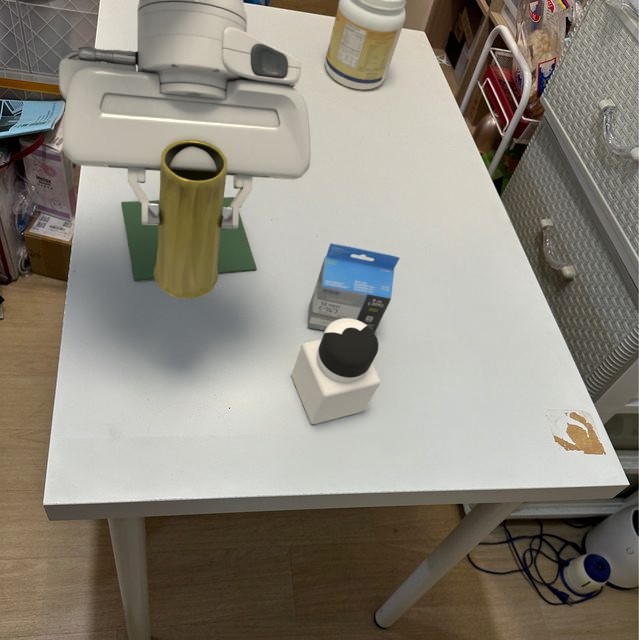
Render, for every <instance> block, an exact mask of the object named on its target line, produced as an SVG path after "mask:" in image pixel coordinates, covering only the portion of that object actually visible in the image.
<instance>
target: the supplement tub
mask: <svg viewBox="0 0 639 640" xmlns="http://www.w3.org/2000/svg"><path fill="white" fill-rule="evenodd" d="M337 5H338V6H337V10H336V14H335V17H334V18H335V19H334V22H333V27H332V31H331V35H330V40H329V44H328V48H327V51H326V54H325V69H326V71H327V72H328V74H329V75H330V77H331V78H332V79H333V80H335V81H336V82H337V83H339V84H341V85H343V86H345V87H347V88H351V89H354V90H355V89H356V90H363V91H364V90H372V89H375V88H378V87H379V86H380V85H382V84H383V83H384V81H385V80H386V77H387V74H388V72H389V69H390V66H391V62H392V59H393V56H394V53H395V50H396V48H397V44H398V42H399V38H400V35H401V33H402V29H403V26H404V24H405V22H406V9H405V8H406V7H405V6H406V5H407V0H338V4H337Z"/></svg>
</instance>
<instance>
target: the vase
mask: <svg viewBox="0 0 639 640" xmlns="http://www.w3.org/2000/svg"><path fill="white" fill-rule="evenodd" d="M187 147H196V148H199V149H202V150H204V151H206V152H207V153H208V154H209V155H210V157H211V158H212V159H213V161H214V163H215V165H216V169H217V171H216V172H204V171H189V170H174V169H170V164H171V162H172V160H173V158H174V157H175V155H176V154H178V153H179V152H180V151H181V150H183V149H185V148H187ZM159 172H160V173H159V194H158V195H159V198H158V200H159V204H160V212H159V217H160V225H158V250H157V261H156V265H155V268H154V278H155V279H154V281H155V282H156V284H157V286H158V287H159V289H161V290H162V292H164V293H166V294H167V295H170V296H172V297H174V298H178V299H182V300H183V299H185V300H187V299H188V300H191V299H197V298H198V299H199V298H202V297H203V296H205V295H207V294H209V293H210V292H211V291H212V290H213V289H214V288H215V286H216V285H217V283H218V280H219V274H218V270H217V263H218V251H219V242H220V231H221V228H220V227H221V217H222V207H223V200H224V197H225V192H226V191H225V189H226V179H227V175H226V174H227V159H226V157H225V155H224V154H223V153H222V151H221V150H220V149H219V148H217V147H216V146H214V145H212V144H210V143H208V142H204V141H200V140H193V139H188V140H181V141H177V142H174V143H172V144H170V145H168V146H167V147H166V148H165V149H164V150H163V152H162V155H161V167H160V171H159Z"/></svg>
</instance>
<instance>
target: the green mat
mask: <svg viewBox="0 0 639 640" xmlns="http://www.w3.org/2000/svg"><path fill="white" fill-rule="evenodd" d="M235 197H236V196H227V197H226V196H224V200H223V207H226V208H229V207H230V205H231V203H232V202H233V200H234V198H235ZM148 201H149V203H150V204H159V199H155V200H148ZM120 204H121V209H122V215H123V221H124V228H125V233H126V240H127V246H128V251H129V256H130V263H131V268H132V274H133V279H134V282H139V281H150V280H155V278H154V268H155V265H156V261H157V250H158V225H142V203H140V202H139V200H130V201H121V203H120ZM158 216H159V214H158ZM250 245H251V244H250V243H249V239H248V236H247V233H246V230H245V226H244V223H243V220H242V217H241V213H240V212H239V222H238V229H235V228H221V231H220V242H219V251H218V263H217V270H218V275H220V274H231V273H243V272H254V271H257V270H258V268H257V265H256V262H255V258H254V255H253V251H252V249H251V246H250Z"/></svg>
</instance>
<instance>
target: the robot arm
mask: <svg viewBox="0 0 639 640" xmlns="http://www.w3.org/2000/svg"><path fill="white" fill-rule="evenodd" d="M17 1H18V2H21V3H25V4H28V5H29V4H30V5H45V4H49V3H52V2H54V1H55V2H56V0H17ZM244 4H245V3H244V0H138V4H137V16H136V17H137V50H136V51H132V50H122V49H101V48H97V47H95V46H84V45H83V46H78V48H77V50H73V51H69V52H68V53H66V54H64V56H63V57H62V58H61V60H60V61H59V64H58V90H59V92H60V95H61V96H62V98H63V100H64V101H65V107H64V115H63V123H62V151H63V154H64V155H65V156H66V157H67V159H68V160H69V161H70V162H71V163H73V164H74V165H76V166H81V167H93V168H94V167H96V168H110V169H125V170H126V169H127V183H128V184H129V186H130V188H131V190H132V191H133V193H134V195H135V197H136V199H137V201H139V202H140V203H142V225H160V217H159V216H158V214H159V212H160V204H150V203H149V201H150V200H149V199H148V198H147V197H148V196H147V195H146V194H145V192H144V190H143V189H142V187H141V185H140V184H145V183H146V178H147V177H146V176H147V175H146V174H147V171H157V172H160V167H161V155H162V152H163V150H164V149H165V148H166V147H167V146H168V145H170V144H172V143H174V142H177V141H181V140H188V139H193V140H200V141H204V142H208V143H210V144H212V145H214V146H216V147H217V148H219V149H220V150H221V151H222V153H223V154H224V155H225V157H226V159H227V174H226V176H232V178H233V179H232V180H233V182H232V185H233V186H232V187H233V189H234V190H235V189H236V190H238V192H237V193H236V195H235V196H234V197H235V198H234V200H233V202H232V203H231V205H230V207H229V208H226V207H222V217H221V227H220V228H235V229H238V222H239V213H240V208H242V206H243V204H244V202H245V201H246V200H247V198H248V197H249V195H250V193H251V191H252V190H253V178H262V179H263V178H264V179H265V178H266V179H279V180H280V179H281V180H297V179H300V178H303V176H304V175H305V174H307V172H308V170H309V169H310V165H311V156H312V155H311V154H312V153H311V152H312V151H311V128H310V118H309V110H308V106H307V103H306V101H305V98H304V97H303V95H302V93H301V92H299V90H297V89H296V88H295V87H296V85H298V83H299V80H300V78H301V74H302V73H301V72H302V70H301V69H302V65H301V62H300V59H298V58H297V57H296V56H295V55H294V54H291V53H290V52H287V51H285V50H282V49H280V48H279V47H276V46H274V45H272V44H269V43H267V42H266V41H263V40H261V39H260V38H258V37H255V36H253V35H251V33H250V34H249V33H248V17H247V12H246V10H245V9H246V8H245V5H244ZM76 57H78V59H75V58H76ZM170 169H174V170H189V171H204V172H216V171H217V169H216V165H215V163H214V161H213V159H212V158H211V157H210V155H209V154H208V153H207V152H206V151H204V150H202V149H199V148H196V147H187V148H185V149H183V150H181V151H180V152H179V153H178V154H176V155H175V157H174V158H173V160H172V162H171V164H170Z"/></svg>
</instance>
